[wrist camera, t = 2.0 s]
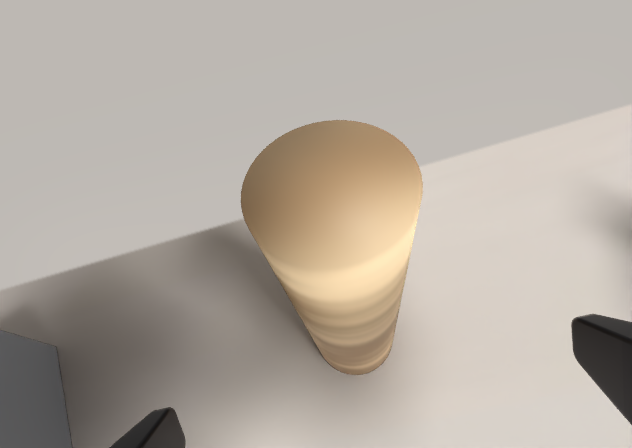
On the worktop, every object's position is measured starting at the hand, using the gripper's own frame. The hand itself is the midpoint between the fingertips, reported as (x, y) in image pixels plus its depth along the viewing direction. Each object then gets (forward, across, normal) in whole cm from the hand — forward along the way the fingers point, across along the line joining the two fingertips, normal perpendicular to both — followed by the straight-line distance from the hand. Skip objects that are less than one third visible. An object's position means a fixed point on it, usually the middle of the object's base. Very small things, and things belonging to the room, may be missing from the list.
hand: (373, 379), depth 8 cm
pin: (+10, 0, +5) cm, 11 cm away
